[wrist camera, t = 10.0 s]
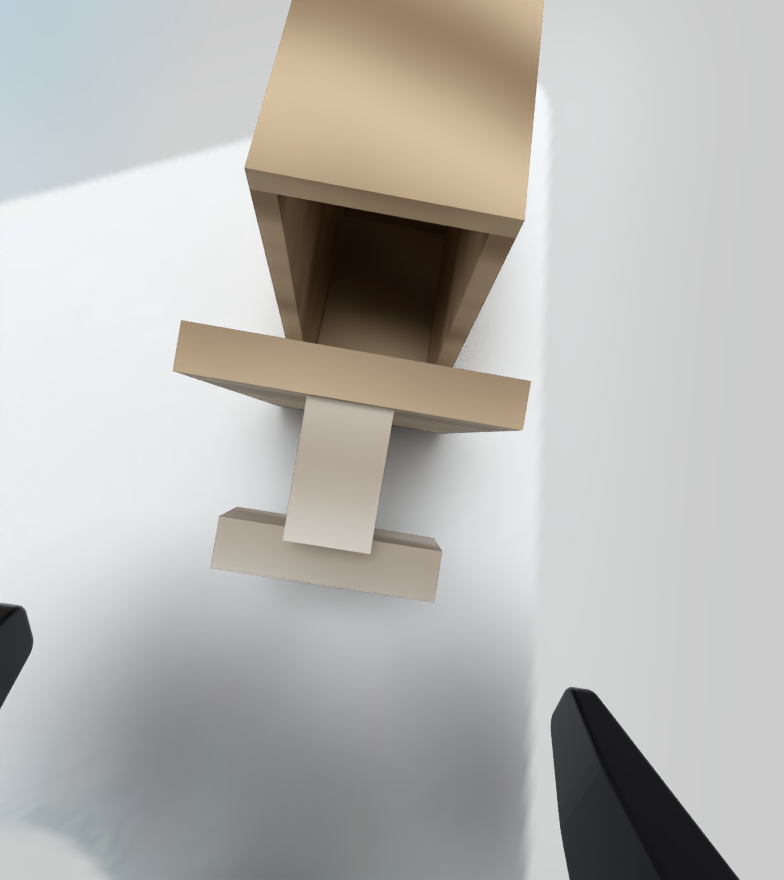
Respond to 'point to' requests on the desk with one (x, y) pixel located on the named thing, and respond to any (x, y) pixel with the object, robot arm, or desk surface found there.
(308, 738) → the desk surface
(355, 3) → the carton
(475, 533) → the desk surface
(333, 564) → the flap
